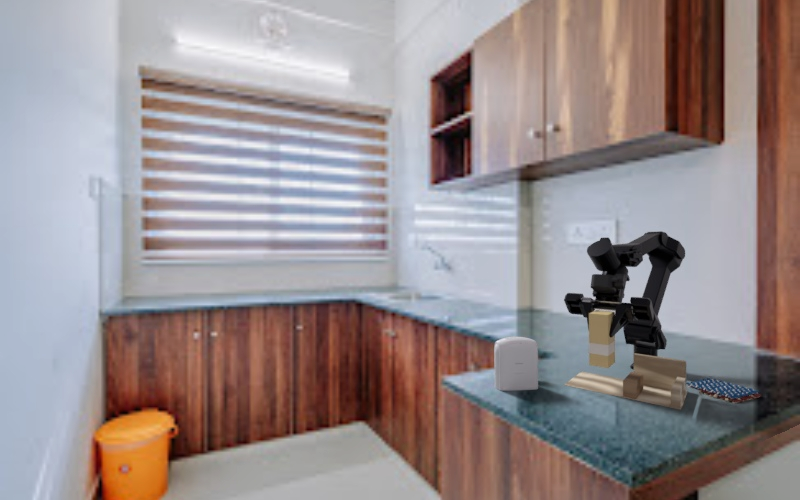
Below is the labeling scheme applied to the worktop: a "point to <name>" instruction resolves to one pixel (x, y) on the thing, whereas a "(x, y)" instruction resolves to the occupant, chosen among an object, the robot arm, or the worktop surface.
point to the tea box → (601, 339)
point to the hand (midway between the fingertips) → (600, 335)
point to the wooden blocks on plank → (642, 381)
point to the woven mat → (724, 390)
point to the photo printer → (516, 364)
